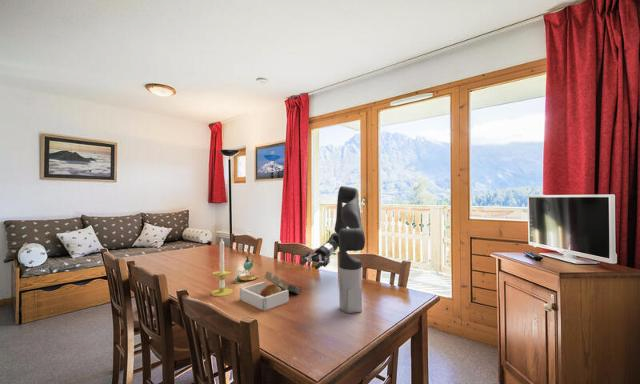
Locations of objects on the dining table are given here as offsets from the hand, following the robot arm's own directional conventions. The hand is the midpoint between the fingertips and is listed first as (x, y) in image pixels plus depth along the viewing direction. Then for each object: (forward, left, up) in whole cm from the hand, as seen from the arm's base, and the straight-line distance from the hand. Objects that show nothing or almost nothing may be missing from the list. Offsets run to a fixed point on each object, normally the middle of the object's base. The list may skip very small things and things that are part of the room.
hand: (308, 265), depth 142 cm
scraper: (-3, +10, -10) cm, 14 cm away
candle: (+6, +42, -11) cm, 44 cm away
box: (-10, +23, -11) cm, 28 cm away
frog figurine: (+24, +30, -11) cm, 40 cm away
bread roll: (-10, +20, -11) cm, 25 cm away
